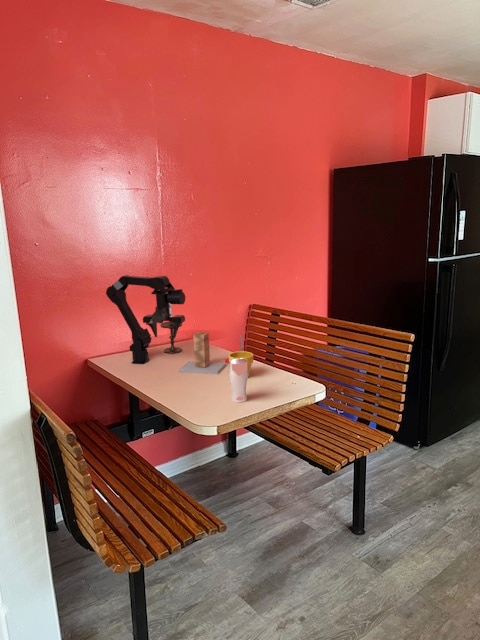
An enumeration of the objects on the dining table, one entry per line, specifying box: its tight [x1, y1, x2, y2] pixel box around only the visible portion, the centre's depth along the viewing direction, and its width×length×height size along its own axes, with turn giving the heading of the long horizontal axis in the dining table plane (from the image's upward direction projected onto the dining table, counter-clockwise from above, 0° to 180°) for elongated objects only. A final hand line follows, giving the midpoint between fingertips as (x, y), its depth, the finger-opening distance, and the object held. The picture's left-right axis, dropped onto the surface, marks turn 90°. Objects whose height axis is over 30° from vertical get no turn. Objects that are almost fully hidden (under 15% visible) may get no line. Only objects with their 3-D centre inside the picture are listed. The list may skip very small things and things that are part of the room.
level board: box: [178, 360, 227, 375], centre depth 215 cm, size 18×12×1 cm, turn 74°
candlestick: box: [159, 303, 183, 355], centre depth 241 cm, size 11×11×35 cm
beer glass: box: [228, 358, 249, 403], centre depth 177 cm, size 7×7×15 cm
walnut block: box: [192, 331, 211, 368], centre depth 213 cm, size 5×5×15 cm
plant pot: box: [228, 350, 254, 378], centre depth 202 cm, size 10×10×10 cm
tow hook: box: [224, 334, 245, 364], centre depth 224 cm, size 8×13×9 cm
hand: (165, 337), depth 220 cm, fingers open, 9 cm apart
